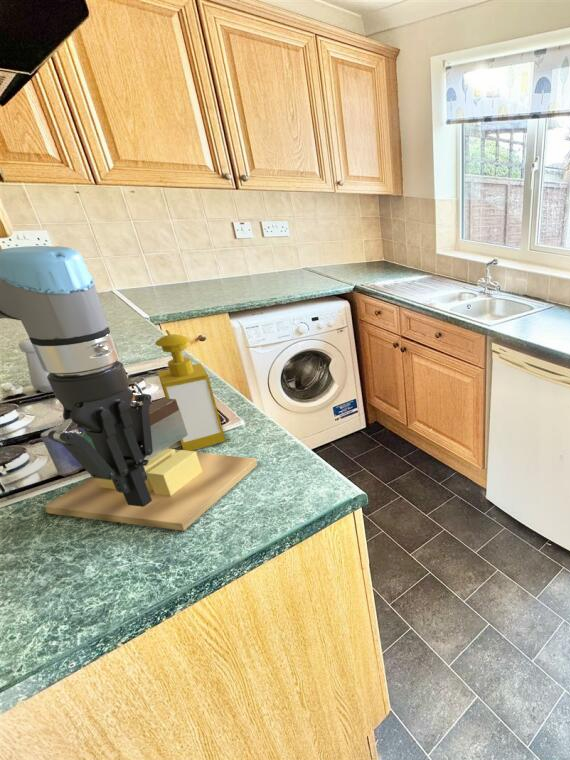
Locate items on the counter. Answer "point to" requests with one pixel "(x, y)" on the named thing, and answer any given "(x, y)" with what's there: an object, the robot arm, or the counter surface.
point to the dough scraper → (165, 425)
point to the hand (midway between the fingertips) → (140, 502)
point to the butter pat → (174, 472)
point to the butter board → (158, 497)
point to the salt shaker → (35, 368)
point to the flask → (63, 453)
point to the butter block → (151, 465)
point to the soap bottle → (190, 395)
